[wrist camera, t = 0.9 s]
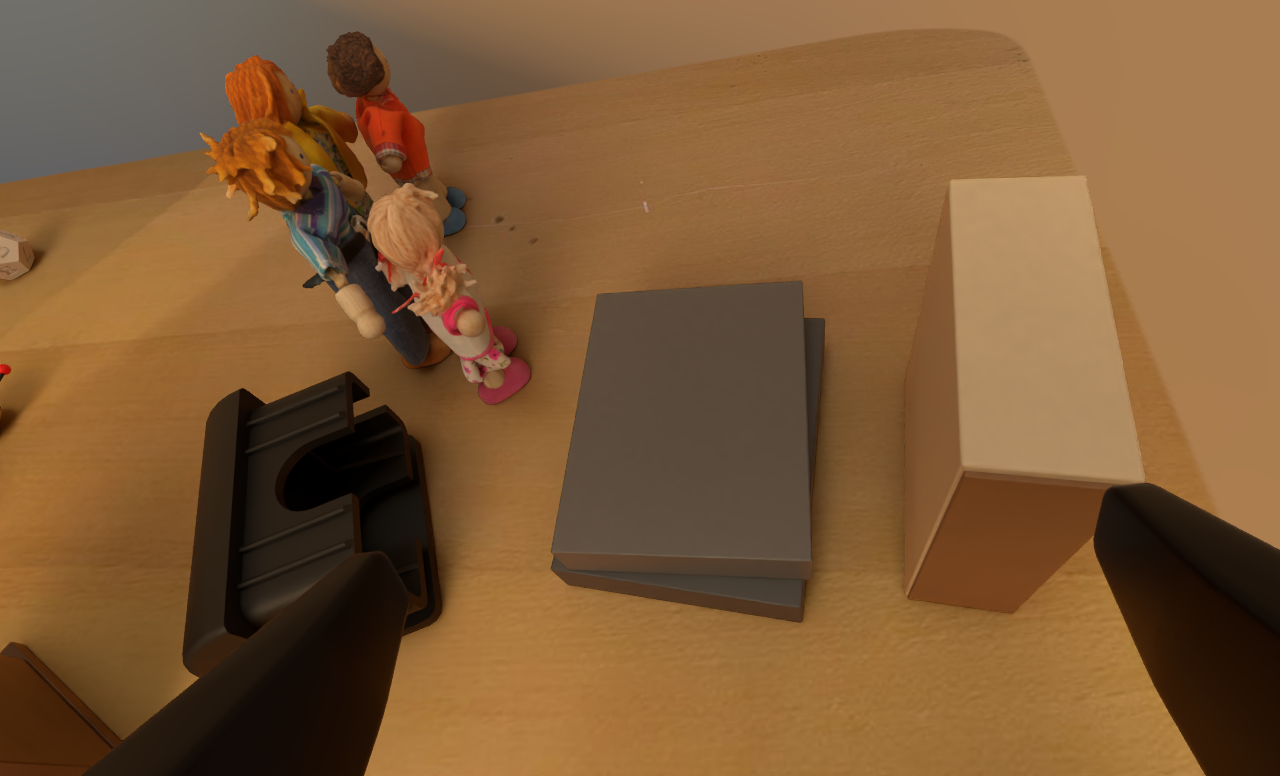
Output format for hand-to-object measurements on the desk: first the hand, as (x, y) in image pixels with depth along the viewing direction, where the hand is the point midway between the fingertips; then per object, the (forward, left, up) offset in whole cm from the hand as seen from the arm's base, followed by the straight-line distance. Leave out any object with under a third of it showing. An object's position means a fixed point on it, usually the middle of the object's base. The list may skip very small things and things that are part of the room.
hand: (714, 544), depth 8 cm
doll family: (+24, +11, -16) cm, 31 cm away
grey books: (+10, -1, -16) cm, 19 cm away
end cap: (+11, +15, -16) cm, 25 cm away
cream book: (+5, -9, -16) cm, 19 cm away
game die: (+43, +41, -16) cm, 62 cm away
